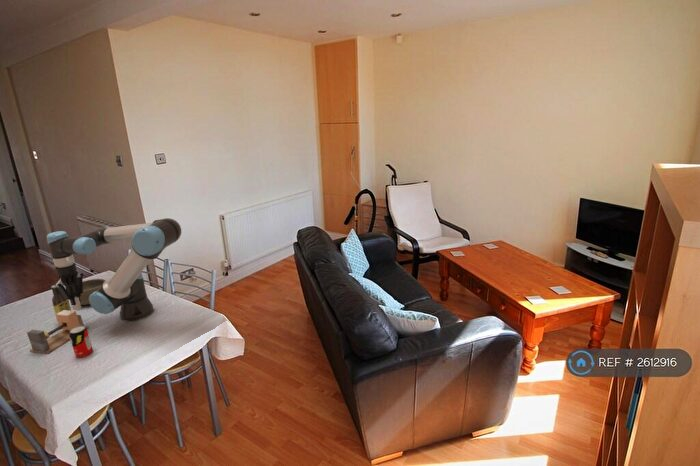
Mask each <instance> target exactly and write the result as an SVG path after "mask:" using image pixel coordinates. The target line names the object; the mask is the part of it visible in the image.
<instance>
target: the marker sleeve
mask: <svg viewBox="0 0 700 466" xmlns="http://www.w3.org/2000/svg"><path fill="white" fill-rule="evenodd" d="M77 315H78V313H77V311H76V310H71V311H68V310H63V311H61V312H59V313H58V314H56V315H55V317H56V322H57V324H58V327H59V326H60V325H62V324H64V323H66V324H67V325H66V326H65V327H63V328H61V329H60V330H71V329H73V328H75V327H79V326H80V324H79V321H78V317H77Z"/></svg>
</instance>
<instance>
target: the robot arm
mask: <svg viewBox="0 0 700 466" xmlns="http://www.w3.org/2000/svg"><path fill="white" fill-rule="evenodd" d="M181 235H182V227H181V225H180V223H179V222H178V221H177V220H175V219H173V218H170V217H169V218H166V217H165V218H160V219H154V220H153V221H152V222H147V223H138V224H128V225H123V226H122V225H121V226H113V227H112V226H108V225H107V226H103V227H99V228H97V229H95V230H92V231H89V232H86V233H85V234H82V235H78V236H69V235H68V233H67V231H65V230H60V231H59V230H57V231H54V232H50V233H48V234H47V235H46V242H47V245H48V248H49V252H50V255H51V258H52V261H53V265H54V267H55V268H54V269H55V271H56V272H55V273H56V275H57V276H58V281H57V282H55V283H54V284H53V285H55V286H56V287H57V288H58V289H59V291H60V292H61V294H62V295H63V297H64V299H67V300H69V303H70V305H71V306H72V307H73V309H74V310H73V311H76V312H78V311H82V310H83V309H82V305H80V302H81V300H80V296H81V295H80V294H82V293H83V281H84V280H83V277H84V273H82V272H78V269H77V264H76V261H75V257H74V254H76V255H90V254H92V253H94V251H95V250H96V248H98V247H100V246H103V245H107V244H115V243H124V242H125V243H126V242H132V243H131V249H132V250H131V251H130V252H129V253H128V255H127V256H126V258H125V259H124V261H123V262H122V263H121V265H120V266H119V268H117V270H116V271H115V273H114V274H113V275H112V276H111V278H107V279H105V280H106V281H105V282H104V283H103V284H102V286H101V287H100V288H99V289H98V290H97V291H95V292H93V293H92V294H91V295H90V297H89V302H90V304H89V305H90V306H91V308H92V309H93V310H94V311H95V312H97V313H99V314H101V315H109V314H110V313H112V312H114V311H115V310H117V309H118V308H119V307H120V311H119V317H120V320H121V321H124V322H132V321H133V322H134V321H139V320H142V319H144V318H147V317H149V316H150V315H151V314H152V313H154V310H155V309H154V305H153V303H152V302H151V300H150V299H149V297H148V295H147V289H146V286H145V281H144V277H143V274H142V273H143V271H144V270H145V269H146V268H147V266H148V264H149V263H151V261H152V260H155V259H157V258H158V257H159V256H160V255H161V253H162V252H163V251H165V249H166V248H167V247H169V246H171V245H173V244H174V243H176V242H177V241H178V240H179V239H180V238H181Z"/></svg>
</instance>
